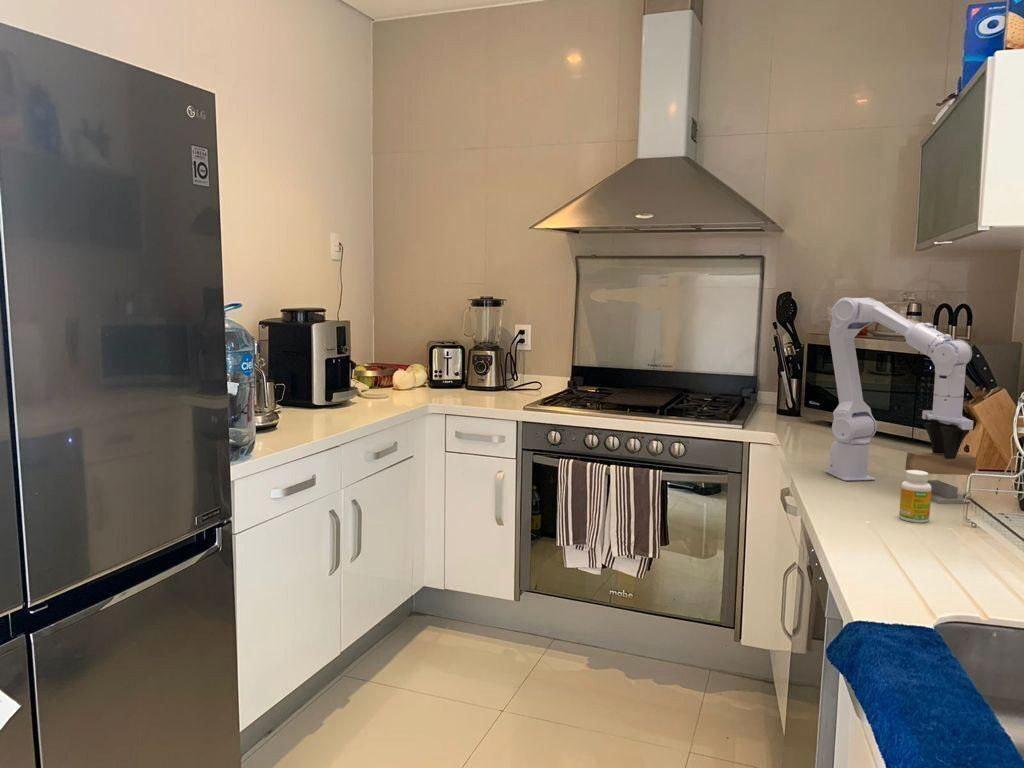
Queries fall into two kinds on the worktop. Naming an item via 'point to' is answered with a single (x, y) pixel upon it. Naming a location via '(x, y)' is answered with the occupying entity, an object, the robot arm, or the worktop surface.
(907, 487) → the supplement bottle
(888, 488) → the worktop surface
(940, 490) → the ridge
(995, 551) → the worktop surface
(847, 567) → the worktop surface
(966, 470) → the beam
